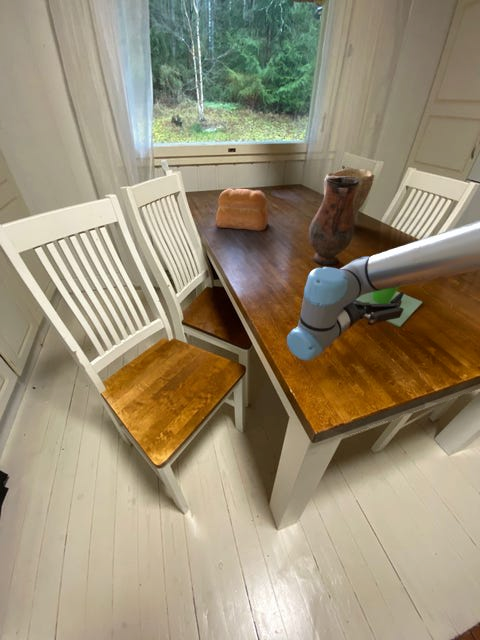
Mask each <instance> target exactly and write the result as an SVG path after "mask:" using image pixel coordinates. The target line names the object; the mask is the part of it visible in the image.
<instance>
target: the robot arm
mask: <svg viewBox="0 0 480 640" xmlns="http://www.w3.org/2000/svg"><path fill="white" fill-rule="evenodd" d="M476 271H480V219H478V220H476V221H472V222H470V223H467V224H463V225H460V226H458V227H454V228H452V229H448V230H445V231H443V232H439V233H437V234H433V235H430V236H427V237H424V238H421V239H418V240H415V241H413V242H409V243H406V244H403V245H401V246H396V247H395V248H391V249H388V250H385V251H382V252H379V253H376V254H373V255H371V256H362V257H359V258H356V259H353V260H352V261H350V262H349V263H348V264H345V265H344V266H342V267H340V268H336V267H331V266H323V267H316V268H314V269H312V270H311V271H310V272H309V274H308V276H307V280H306V283H305V286H304V290H303V298H302V304H301V308H300V309H301V310H300V315H299V318H298V324H297V326H296V327H294V328H292V330H291V331H290V332H289V333H287V337H286V344H287V348H288V349H289V351H290V353H292V355H293V356H295V357H296V358H298V359H299V360H302V361H305V362H307V361H312V360H313V359H315V358H316V357H318V356H319V355H321V354H322V353H323V352H324V351H325V350H326V349H327V348H329V346H331V345H332V344H333V343H334V342H335V341H336V340H337V339H339V338H340V337H341V336H342V335H343V334H344V333H346V332H347V331H348V330H349V329H350V328H352V327H353V326H354V325H355V324H356V323H357V322H358V321H359V320H365V321H367V325H368V326H373V325H375V324H377V323H381V322H387V321H386V320H391V319H396V318H400V316H401V314H402V312H403V310H404V309H403V308H401V307H400V305H401V303H402V301H401V299H402V297H403V294H404V295H405V292H404V291H400V292H399V294H398V295H397V296H396V297H395V298H394V299H393V300H392V301H391V302H390V303H385V304H370V303H369V302H361V301H358V300H356V299H357V298H359V297H360V296H361V295H363V294H366V293H371V292H376V291H380V290H384V289H389V288H394V287H399V286H400V287H403V286H409V285H412V284H417V283H422V282H427V281H432V280H437V279H442V278H447V277H451V276H456V275H461V274H466V273H467V274H468V273H471V272H476ZM400 287H399V288H400ZM365 307H366V308H365Z"/></svg>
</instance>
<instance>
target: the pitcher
mask: <svg viewBox="0 0 480 640" xmlns="http://www.w3.org/2000/svg"><path fill="white" fill-rule="evenodd" d="M326 181H327V186H326V192H325V196H324V197H323V199H322V203H321V205H320V206H319V208H318V210H317V212H316V214H315V215H314V217H313V218H312V219H311V223H310V225H309V228H308V241H309V242H310V245H311V248H313V250H314V251H315V252H316V253H314V254H313V256H312V259H313V261H314V262H315V263H317V264H319V265H322V266H332V265H336V264H337V263H338V257H337V256H338V255H339V254H341V253H342V252H343V251H345V249H347V248H348V247H349V246H350V244H351V241H352V240H353V237H354V235H355V217H354V216H353V200H354V195H355V191H356V187H357V184H359V181H358V180H354V179H348V178H345V177H337V178H328V179H327V180H326Z"/></svg>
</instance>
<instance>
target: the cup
mask: <svg viewBox="0 0 480 640" xmlns="http://www.w3.org/2000/svg"><path fill="white" fill-rule="evenodd" d="M400 287H401V286H399V287H394V288H389V289H384V290H380V291H376V292H373V300H374V301H375V302H377V303H380V304H385V303H388V302H390V300H391V299H392V297H393V296H394V294H395V293H396V291H397V292H398V290H399V288H400Z"/></svg>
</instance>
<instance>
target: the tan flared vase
mask: <svg viewBox="0 0 480 640" xmlns="http://www.w3.org/2000/svg"><path fill="white" fill-rule="evenodd" d="M337 177H345V178H348V179H354V180H358V181H359V184H357V187H356V191H355V195H354V200H353V216H354V218H355V217H356V216H357V213H358V212H359V210H360V209H361V208H362V207H363V206H364V204H365V202H366V200H367V198H368V196H369V194H370V192H371V188H372V187H373V184H374V181H375V174H373V172H372V171H370V170H368V169H363V168H360V169H359V168H352V167H351V168H350V167H349V168H344V169H340V170H337V171H334V172H331V173H327V174H326V176H325V178H324V180H323V195H324V196H325V192H326V186H327V181H326V180H327V179H328V178H337Z"/></svg>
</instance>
